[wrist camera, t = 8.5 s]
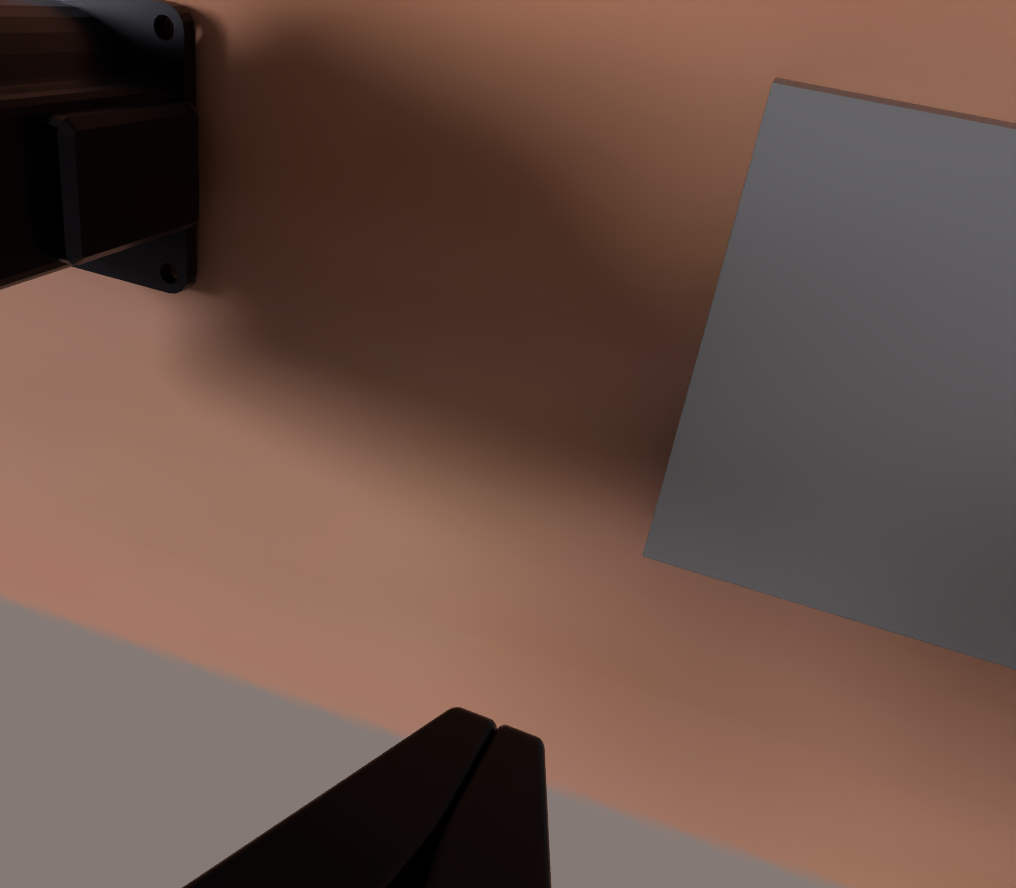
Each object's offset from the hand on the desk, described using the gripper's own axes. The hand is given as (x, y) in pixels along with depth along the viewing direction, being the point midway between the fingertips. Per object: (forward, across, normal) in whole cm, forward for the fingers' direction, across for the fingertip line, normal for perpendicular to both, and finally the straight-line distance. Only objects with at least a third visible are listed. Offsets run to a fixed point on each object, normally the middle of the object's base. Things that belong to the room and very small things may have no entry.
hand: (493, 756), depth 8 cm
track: (+13, -12, 0) cm, 18 cm away
